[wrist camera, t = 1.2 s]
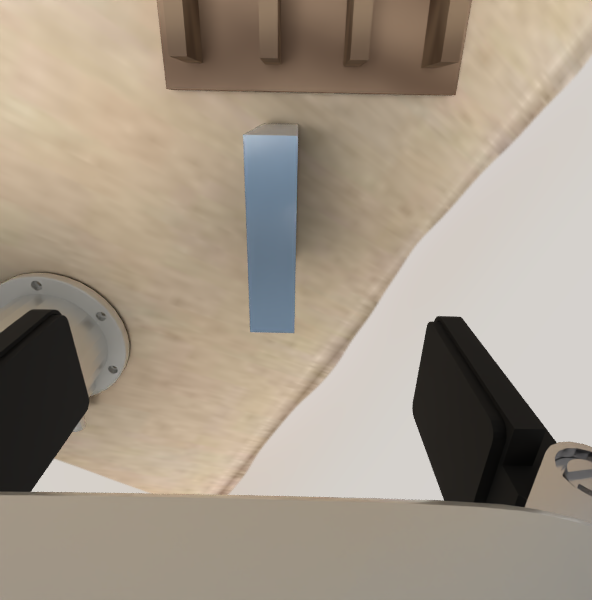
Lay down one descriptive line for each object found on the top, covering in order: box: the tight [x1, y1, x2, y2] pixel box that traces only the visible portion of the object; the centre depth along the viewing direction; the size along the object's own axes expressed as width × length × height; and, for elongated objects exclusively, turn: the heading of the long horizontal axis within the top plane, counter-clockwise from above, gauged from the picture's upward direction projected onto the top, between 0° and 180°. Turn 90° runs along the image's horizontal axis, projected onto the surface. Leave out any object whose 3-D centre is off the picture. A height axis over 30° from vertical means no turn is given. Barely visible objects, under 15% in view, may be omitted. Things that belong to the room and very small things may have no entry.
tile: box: [243, 123, 298, 333], centre depth 25 cm, size 10×2×12 cm, turn 179°
